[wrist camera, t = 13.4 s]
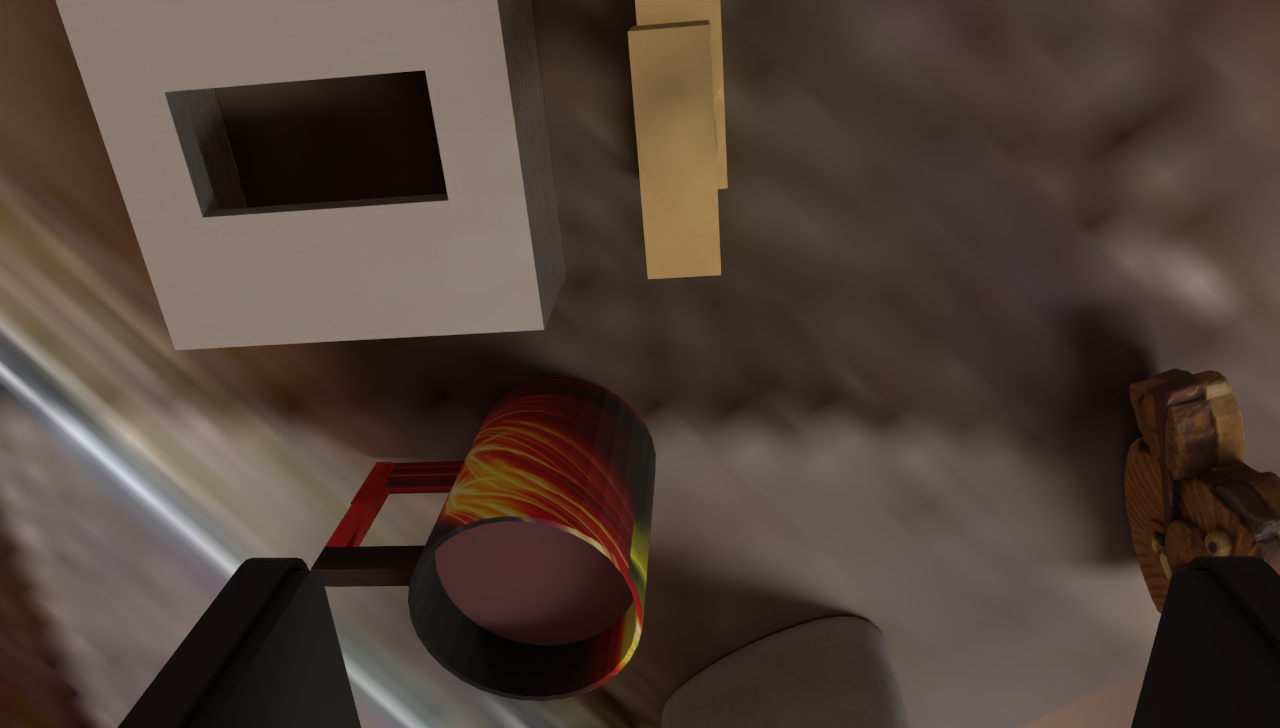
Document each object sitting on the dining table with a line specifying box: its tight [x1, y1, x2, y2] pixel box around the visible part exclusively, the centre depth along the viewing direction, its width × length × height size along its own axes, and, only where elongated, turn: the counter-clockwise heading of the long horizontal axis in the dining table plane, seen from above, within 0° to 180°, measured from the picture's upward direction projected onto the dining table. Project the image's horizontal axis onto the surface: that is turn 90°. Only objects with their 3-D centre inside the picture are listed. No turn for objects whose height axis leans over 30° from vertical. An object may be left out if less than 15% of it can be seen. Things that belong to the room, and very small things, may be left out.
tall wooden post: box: [628, 0, 727, 279], centre depth 31 cm, size 3×8×14 cm, turn 5°
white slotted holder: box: [56, 0, 566, 350], centre depth 35 cm, size 16×16×7 cm
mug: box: [311, 378, 655, 701], centre depth 41 cm, size 10×14×12 cm
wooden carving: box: [1124, 369, 1280, 613], centre depth 40 cm, size 16×5×10 cm, turn 22°
